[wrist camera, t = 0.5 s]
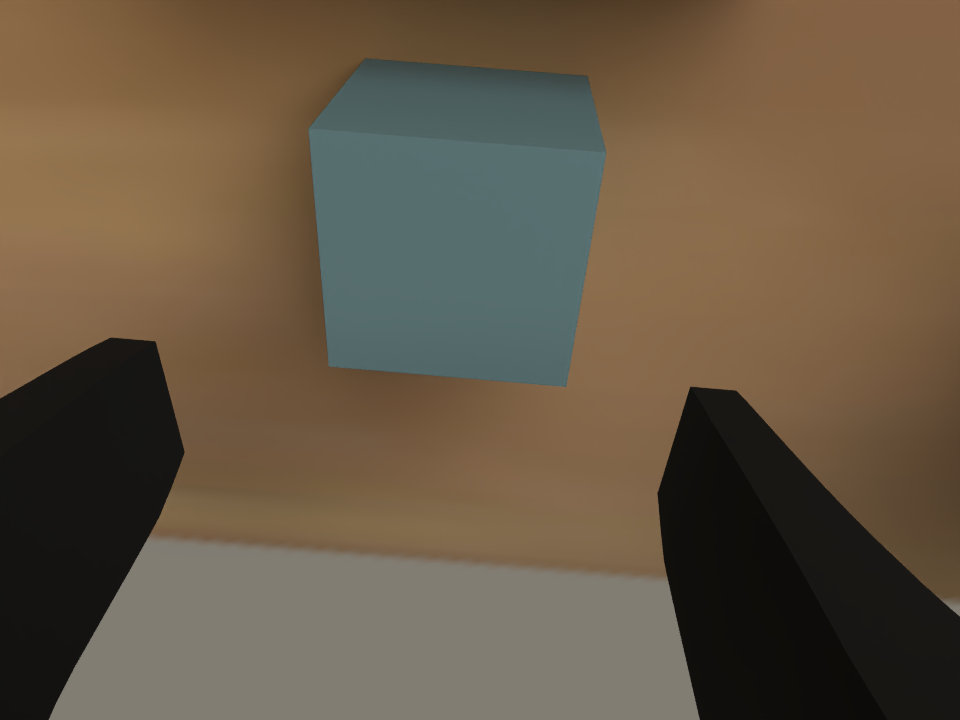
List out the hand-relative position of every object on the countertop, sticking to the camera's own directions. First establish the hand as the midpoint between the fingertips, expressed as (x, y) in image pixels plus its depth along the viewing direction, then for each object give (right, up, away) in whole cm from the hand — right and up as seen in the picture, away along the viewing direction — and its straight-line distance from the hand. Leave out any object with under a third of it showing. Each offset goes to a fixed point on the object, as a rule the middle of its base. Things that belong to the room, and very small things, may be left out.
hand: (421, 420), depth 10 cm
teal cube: (+1, +5, +8) cm, 9 cm away
